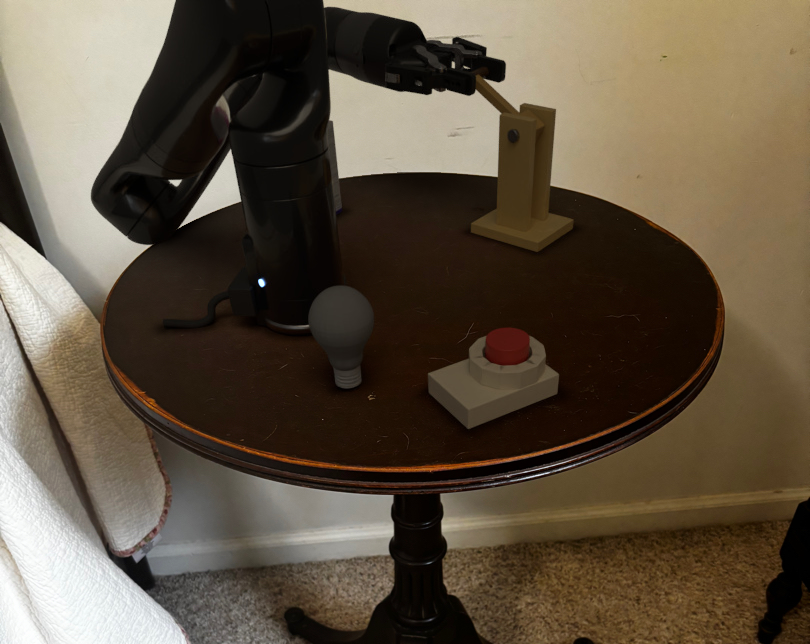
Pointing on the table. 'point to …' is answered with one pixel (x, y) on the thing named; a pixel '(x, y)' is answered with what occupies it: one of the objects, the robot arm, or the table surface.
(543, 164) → the stand
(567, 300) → the table surface
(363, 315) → the light bulb
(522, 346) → the bell button
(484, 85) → the lever
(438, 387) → the block
